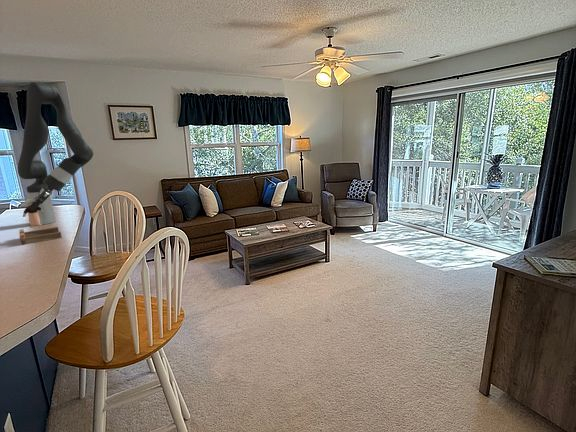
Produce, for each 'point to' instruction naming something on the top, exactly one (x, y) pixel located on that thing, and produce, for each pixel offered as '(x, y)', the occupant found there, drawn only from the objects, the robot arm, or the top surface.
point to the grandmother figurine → (32, 214)
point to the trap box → (39, 235)
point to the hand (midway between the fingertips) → (30, 209)
